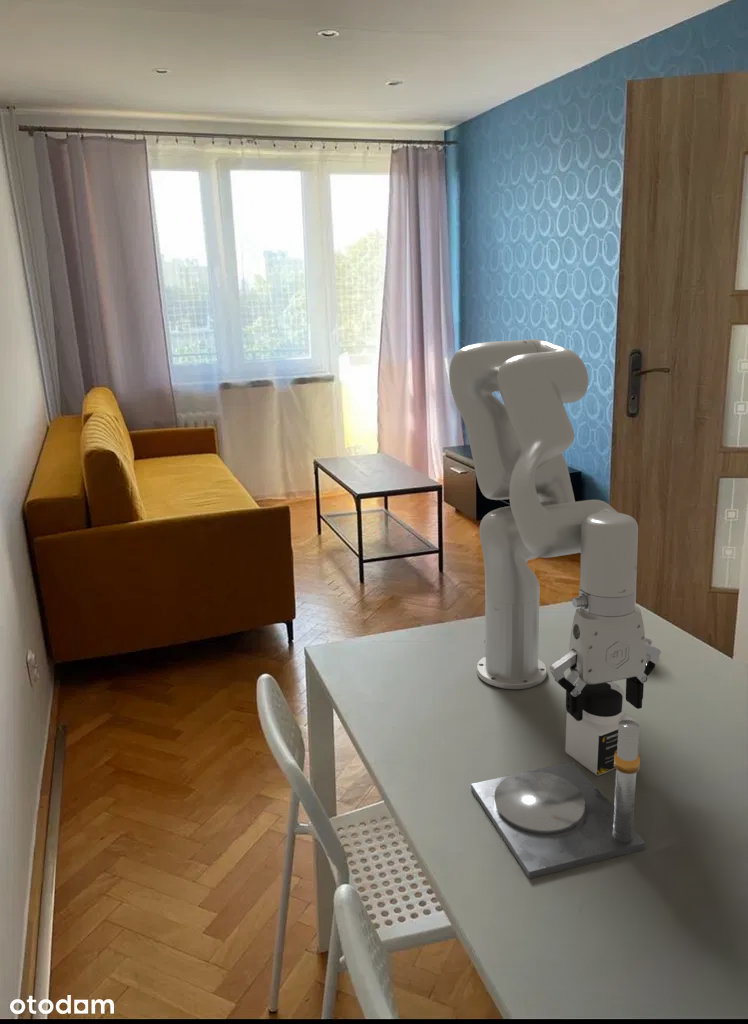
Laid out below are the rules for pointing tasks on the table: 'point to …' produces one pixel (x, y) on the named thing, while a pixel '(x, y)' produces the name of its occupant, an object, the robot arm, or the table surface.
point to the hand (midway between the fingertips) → (604, 710)
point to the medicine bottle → (596, 727)
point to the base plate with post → (565, 812)
